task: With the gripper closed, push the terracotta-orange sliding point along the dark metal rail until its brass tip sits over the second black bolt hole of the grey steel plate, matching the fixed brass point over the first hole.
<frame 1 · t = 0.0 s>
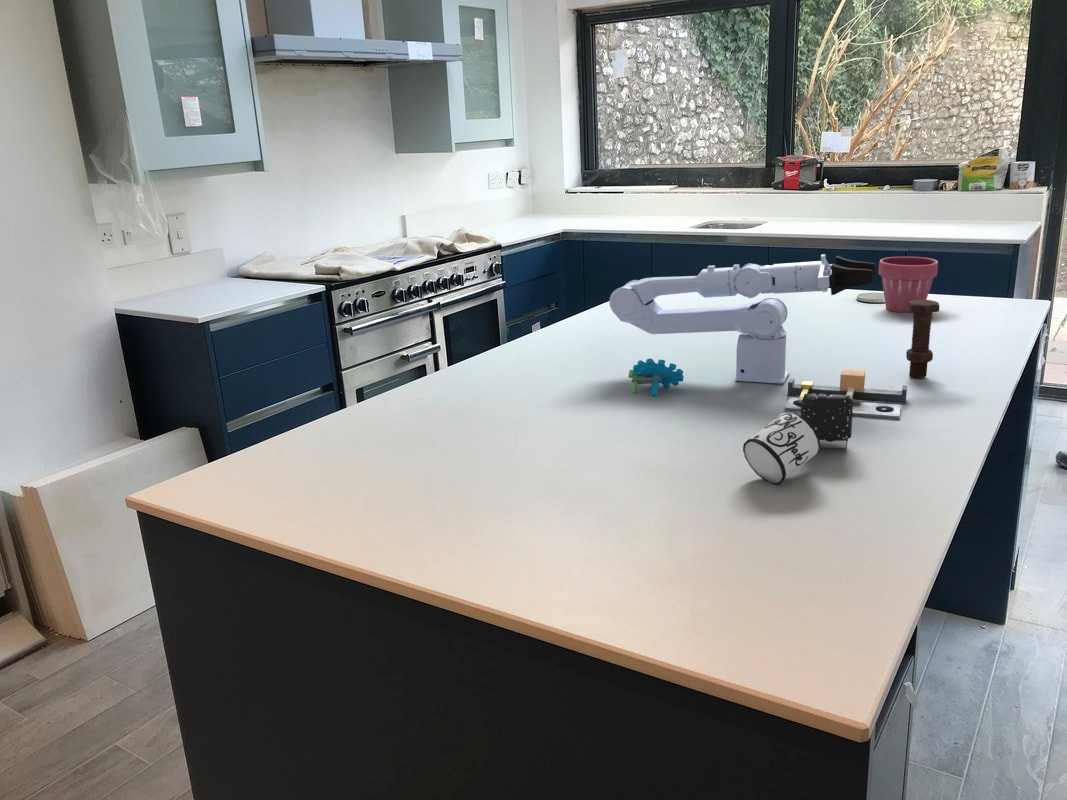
hand: (873, 272, 163), 22 cm above the counter, tool horizontal, fingers open, 7 cm apart
sliding point: (851, 387, 159), point 3 cm above the counter, slide at 0.0 cm
hole plate: (842, 409, 157), on the counter
plant pot: (904, 309, 231), on the counter
bolt: (917, 378, 173), on the counter
blue stegosaurus toy: (655, 392, 173), on the counter
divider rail: (845, 397, 163), on the counter
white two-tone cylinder: (797, 465, 134), on the counter
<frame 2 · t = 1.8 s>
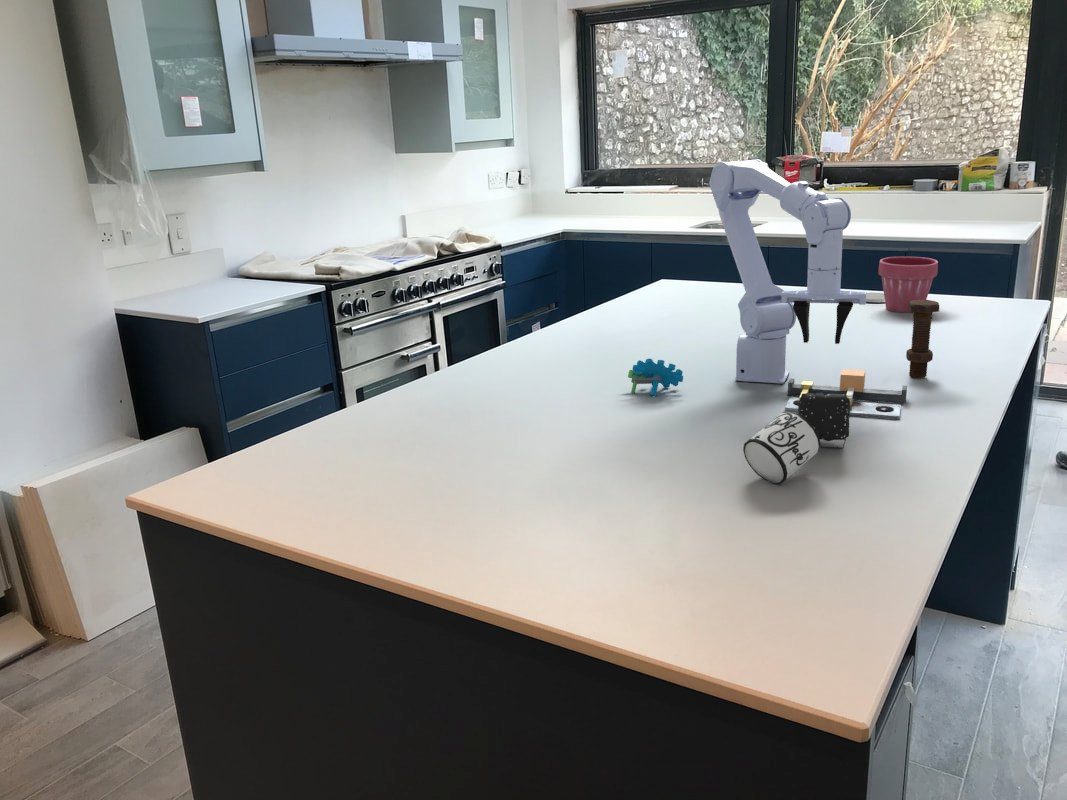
hand: (821, 342, 161), 10 cm above the counter, tool pointing down, fingers open, 5 cm apart
nothing on the counter moved.
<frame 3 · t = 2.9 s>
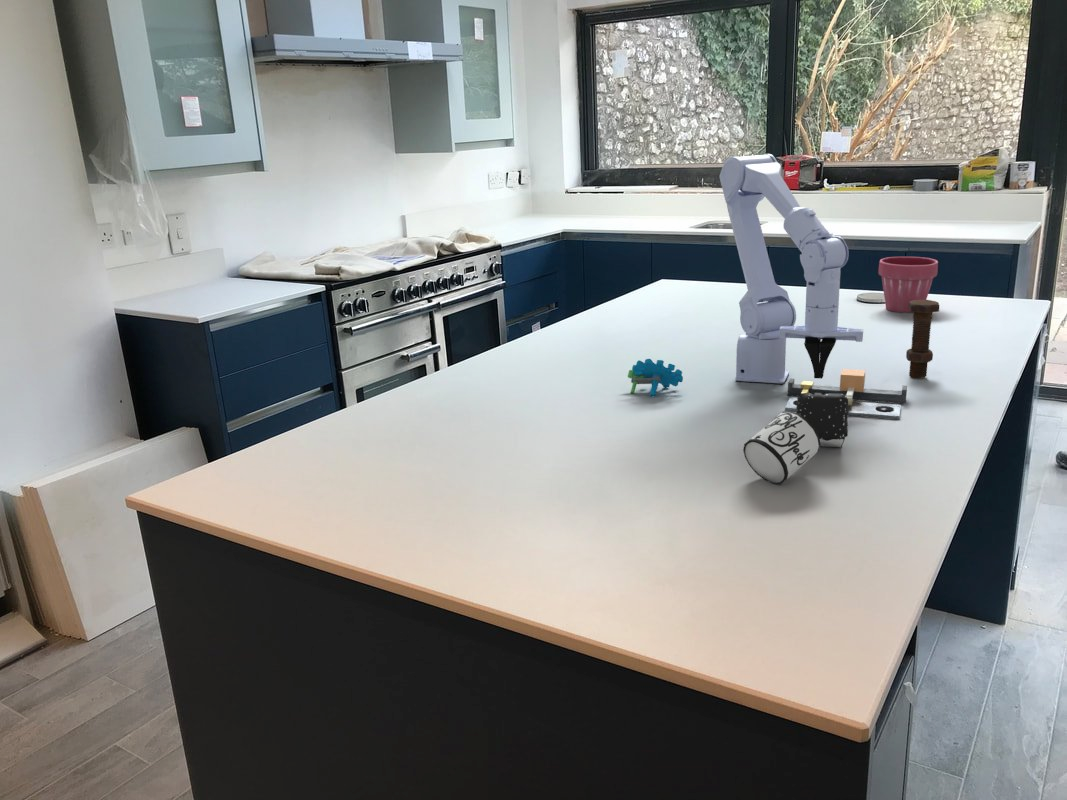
hand: (818, 377, 164), 4 cm above the counter, tool pointing down, fingers closed
nothing on the counter moved.
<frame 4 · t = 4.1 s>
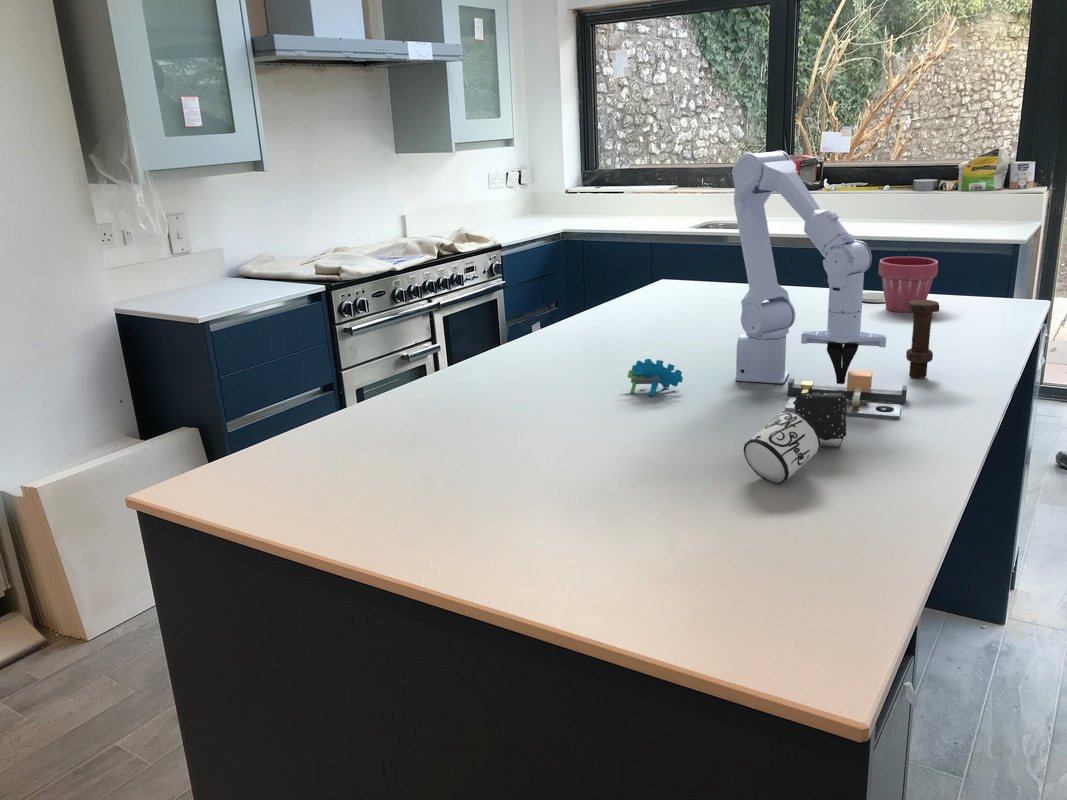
hand: (840, 382, 162), 3 cm above the counter, tool pointing down, fingers closed
sliding point: (858, 387, 158), point 3 cm above the counter, slide at 1.2 cm, touching gripper
everything else where it was.
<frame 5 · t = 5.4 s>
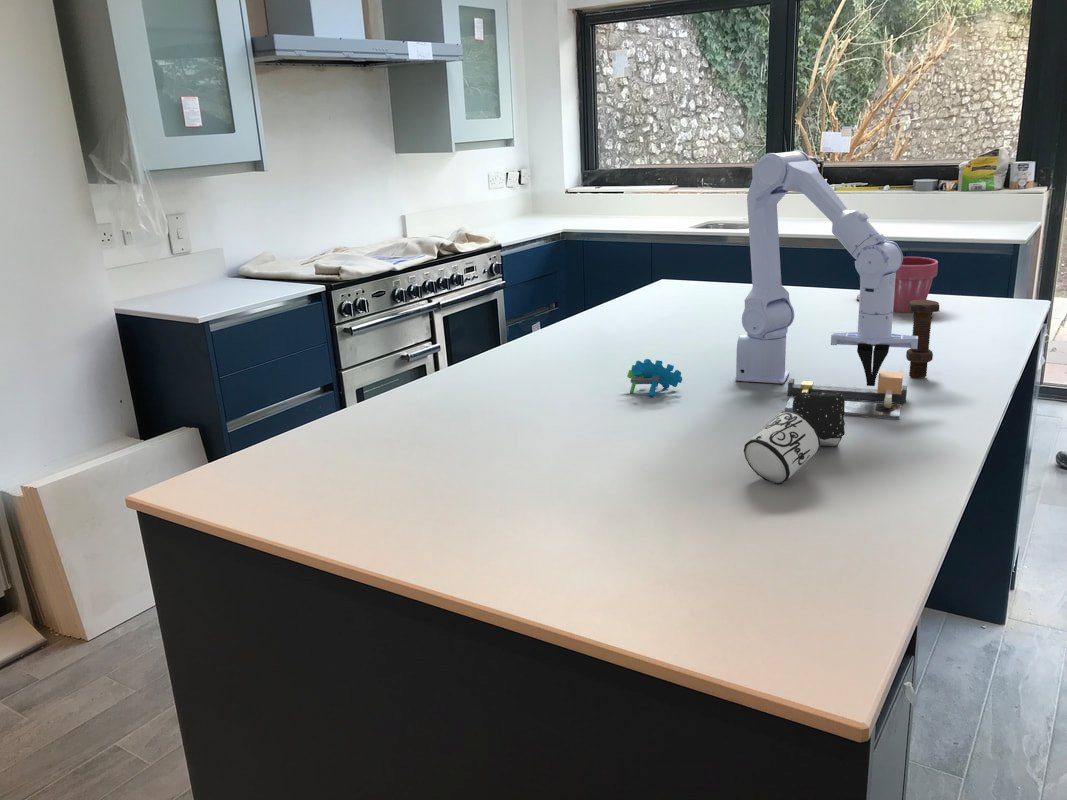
hand: (870, 384, 160), 3 cm above the counter, tool pointing down, fingers closed
sliding point: (889, 389, 156), point 3 cm above the counter, slide at 6.4 cm, touching gripper
everything else where it was.
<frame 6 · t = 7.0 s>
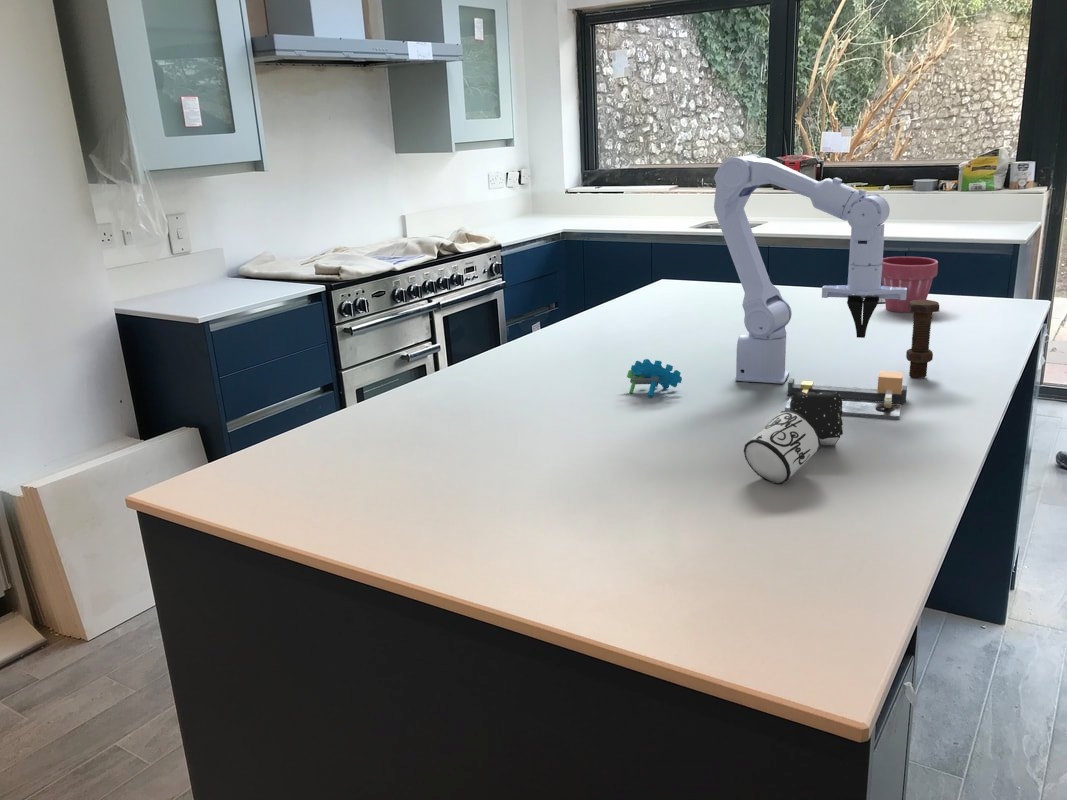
hand: (861, 336, 164), 10 cm above the counter, tool pointing down, fingers closed
sliding point: (889, 389, 156), point 3 cm above the counter, slide at 6.4 cm
everything else where it was.
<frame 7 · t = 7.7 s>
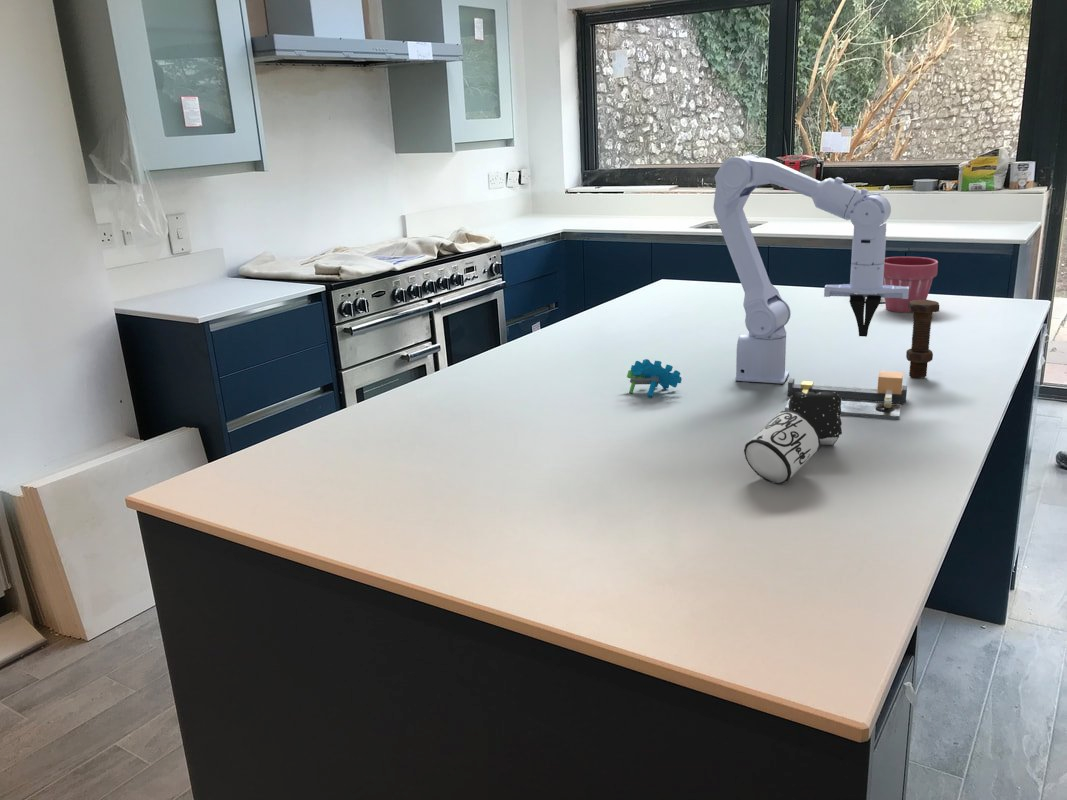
hand: (863, 335, 165), 10 cm above the counter, tool pointing down, fingers closed
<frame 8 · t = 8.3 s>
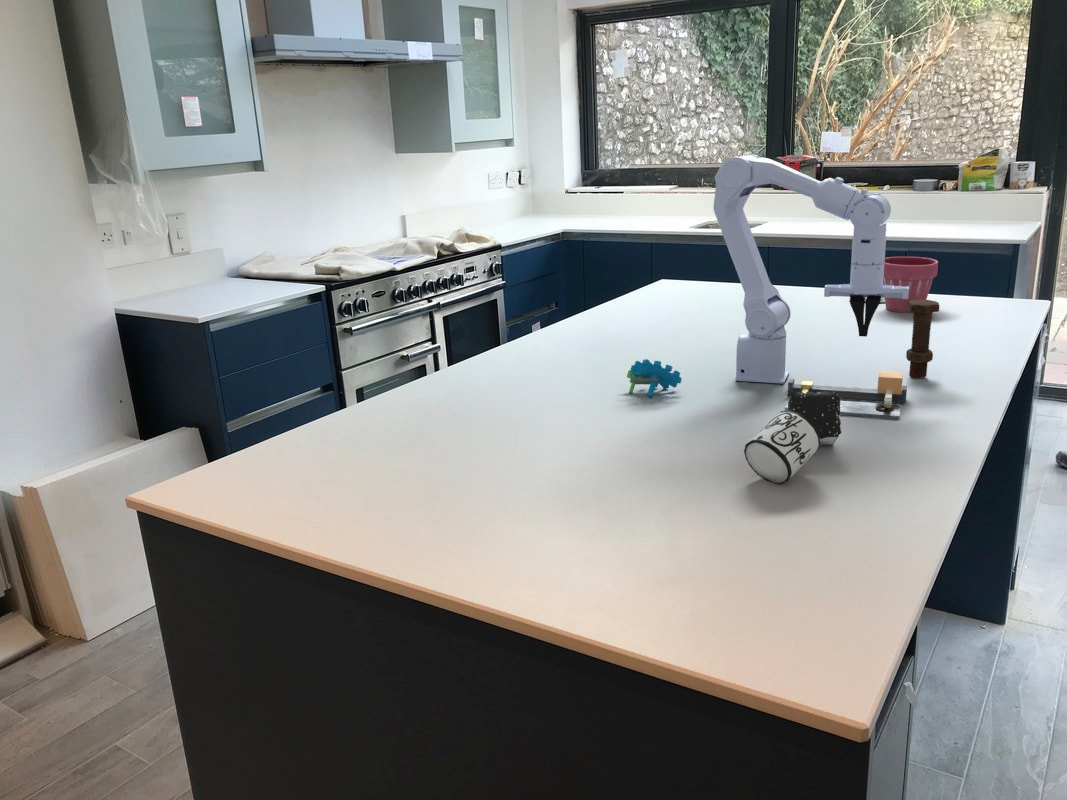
hand: (863, 335, 165), 10 cm above the counter, tool pointing down, fingers closed
nothing on the counter moved.
at the end: sliding point slide at 6.4 cm; sliding point touching nothing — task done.
